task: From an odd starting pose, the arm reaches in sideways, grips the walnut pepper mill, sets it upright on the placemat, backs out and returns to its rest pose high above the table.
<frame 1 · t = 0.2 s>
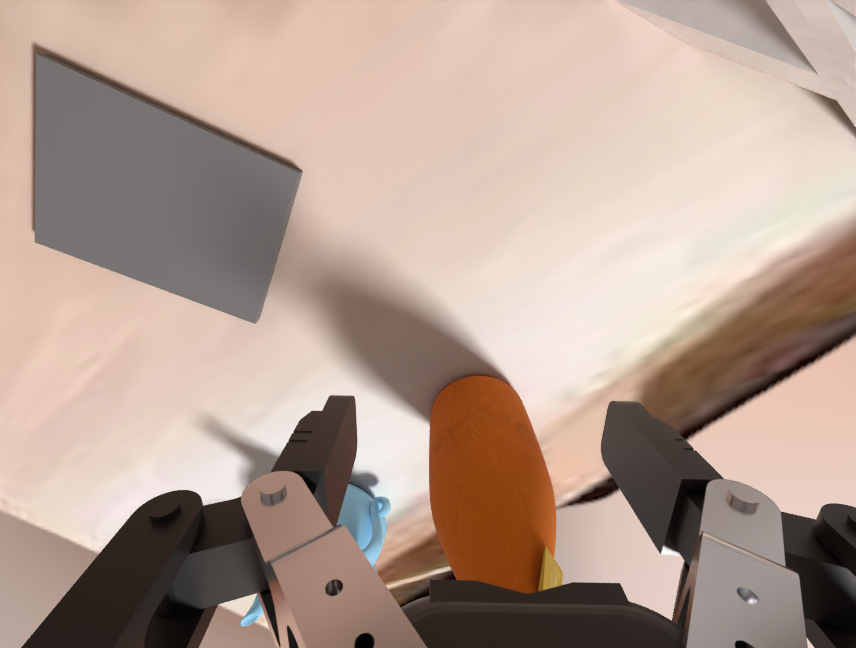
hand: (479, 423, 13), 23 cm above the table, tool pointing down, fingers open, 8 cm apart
teapot: (328, 511, 49), on the table
wine bottle: (475, 407, 42), on the table
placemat: (169, 206, 32), on the table
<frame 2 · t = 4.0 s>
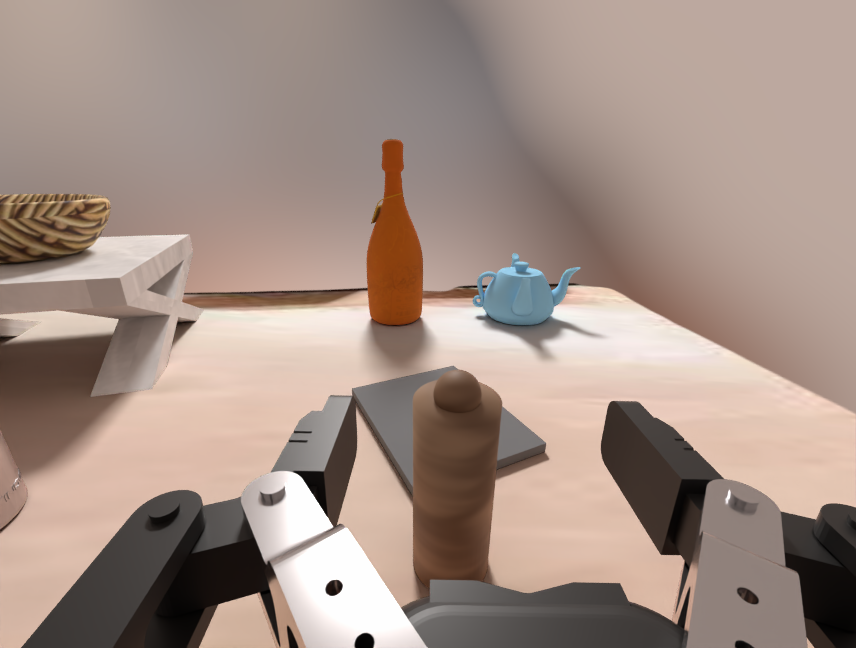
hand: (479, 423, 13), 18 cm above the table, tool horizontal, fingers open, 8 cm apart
pepper mill: (450, 559, 28), on the table
teapot: (521, 317, 75), on the table
wine bottle: (395, 318, 74), on the table
white x-leg bench: (61, 354, 59), on the table
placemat: (438, 420, 43), on the table
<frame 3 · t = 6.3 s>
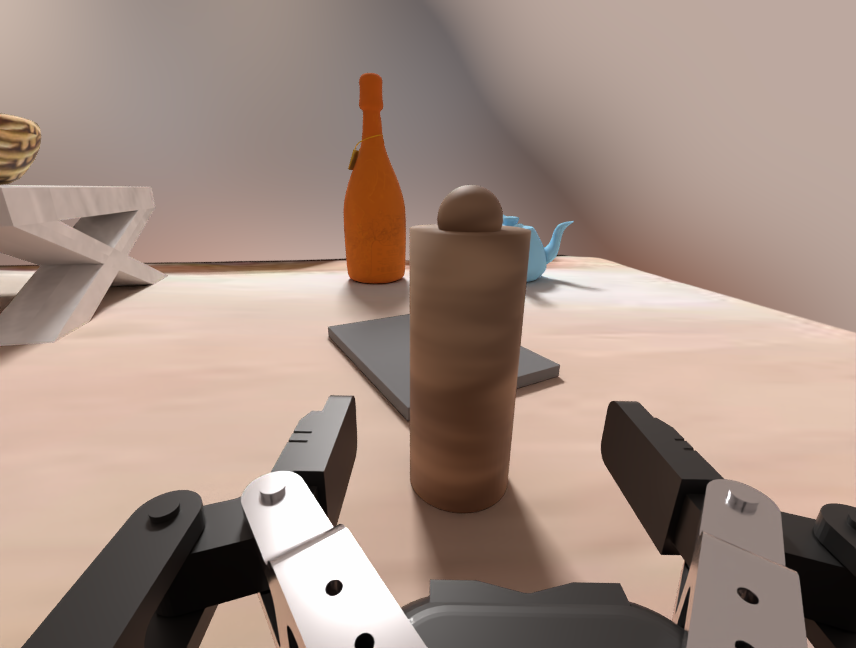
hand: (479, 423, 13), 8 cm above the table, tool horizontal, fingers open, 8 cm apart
pepper mill: (458, 475, 21), on the table
teapot: (512, 277, 70), on the table
wine bottle: (376, 279, 67), on the table
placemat: (430, 353, 37), on the table
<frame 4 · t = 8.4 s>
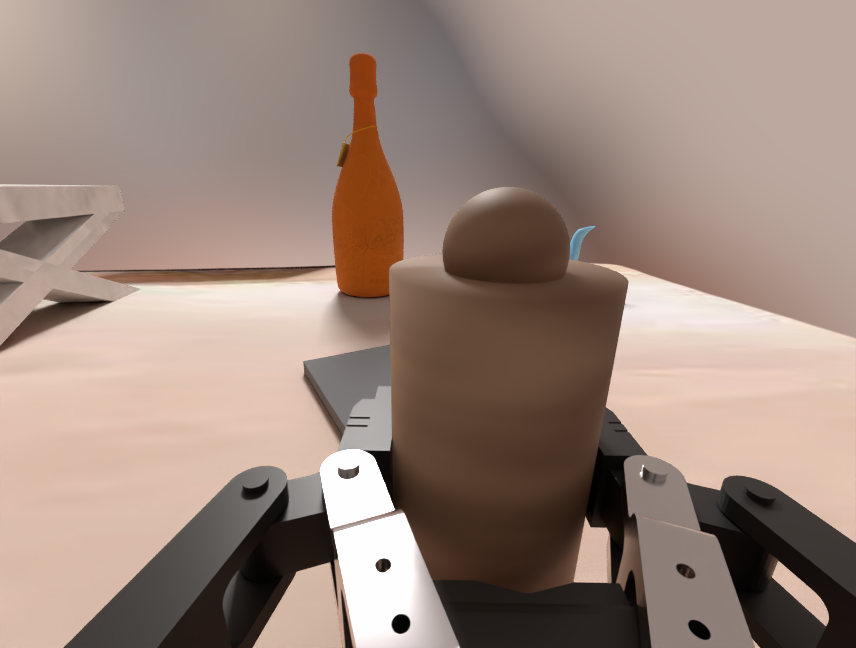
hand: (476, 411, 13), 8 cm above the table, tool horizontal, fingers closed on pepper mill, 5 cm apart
teapot: (524, 289, 62), on the table
wine bottle: (370, 292, 59), on the table
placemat: (431, 401, 29), on the table
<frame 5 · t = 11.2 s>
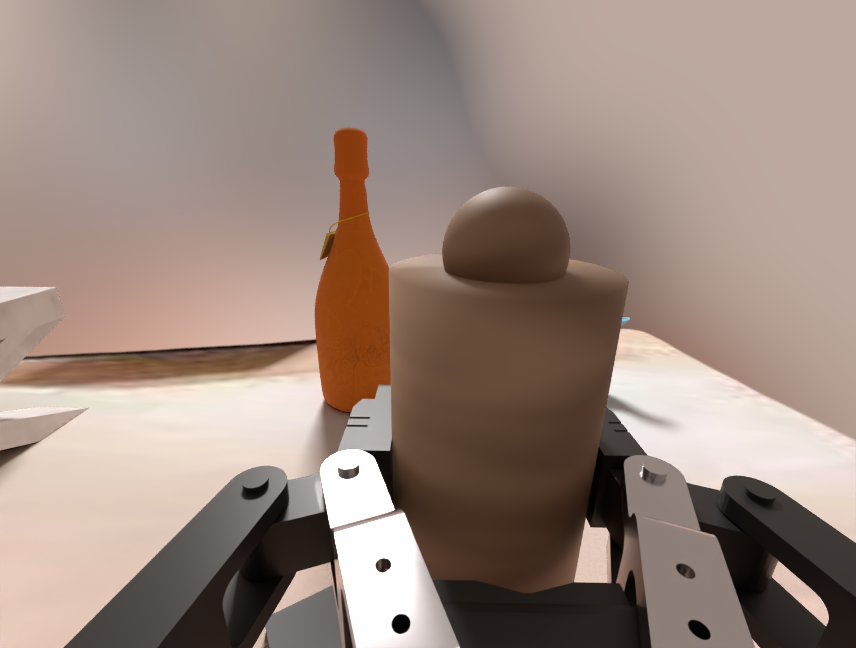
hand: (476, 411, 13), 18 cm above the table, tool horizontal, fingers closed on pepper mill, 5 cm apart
wine bottle: (362, 397, 49), on the table
when the fingers open (10 cm above the table, at t = 13.8 s): pepper mill drops 1 cm, resting on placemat.
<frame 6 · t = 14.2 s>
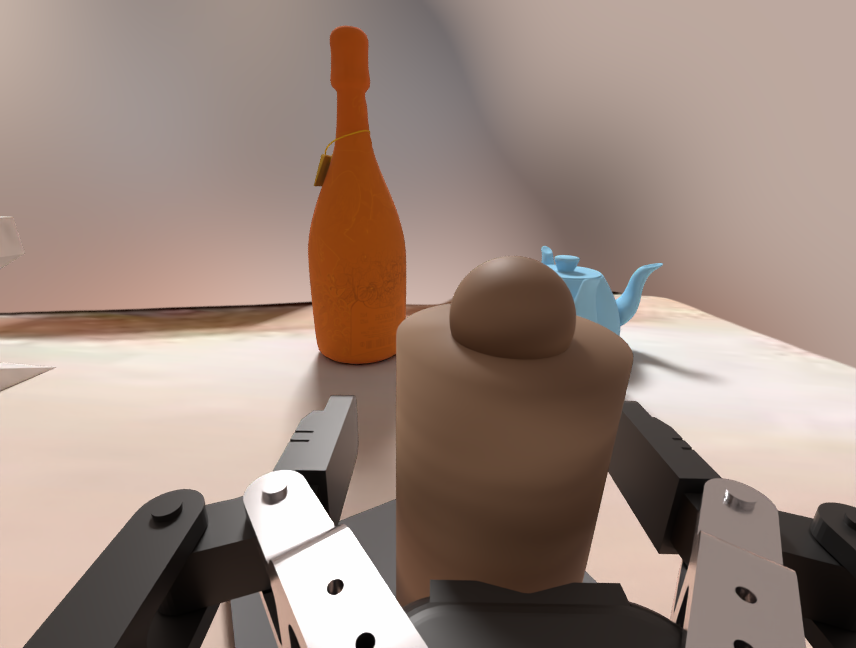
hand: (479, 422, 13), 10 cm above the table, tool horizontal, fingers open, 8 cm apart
teapot: (565, 344, 47), on the table
wine bottle: (362, 351, 44), on the table
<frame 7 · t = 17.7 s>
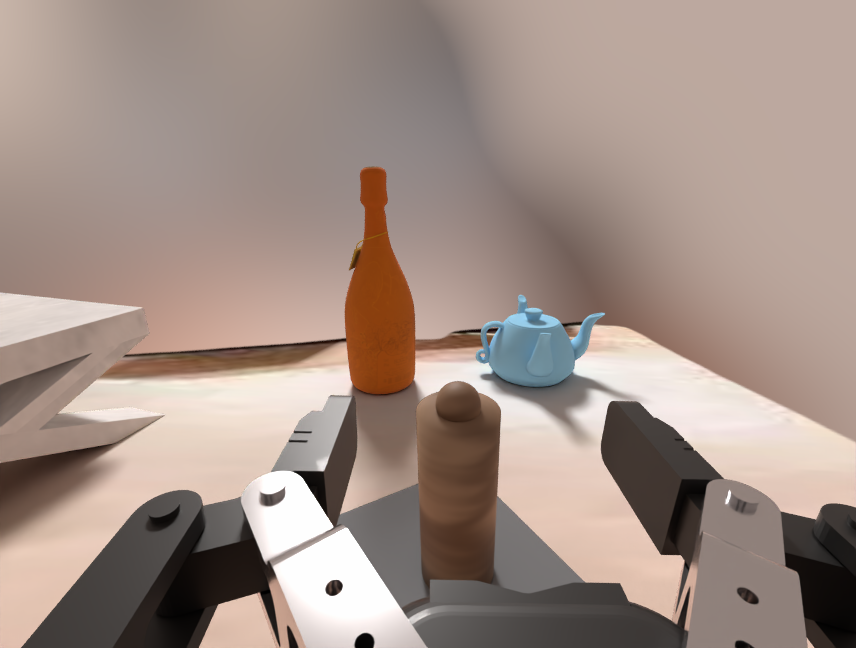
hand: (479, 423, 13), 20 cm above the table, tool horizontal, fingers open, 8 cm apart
pepper mill: (457, 566, 29), point 1 cm above the table, touching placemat
teapot: (535, 373, 62), on the table
wine bottle: (383, 383, 60), on the table
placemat: (456, 576, 29), on the table
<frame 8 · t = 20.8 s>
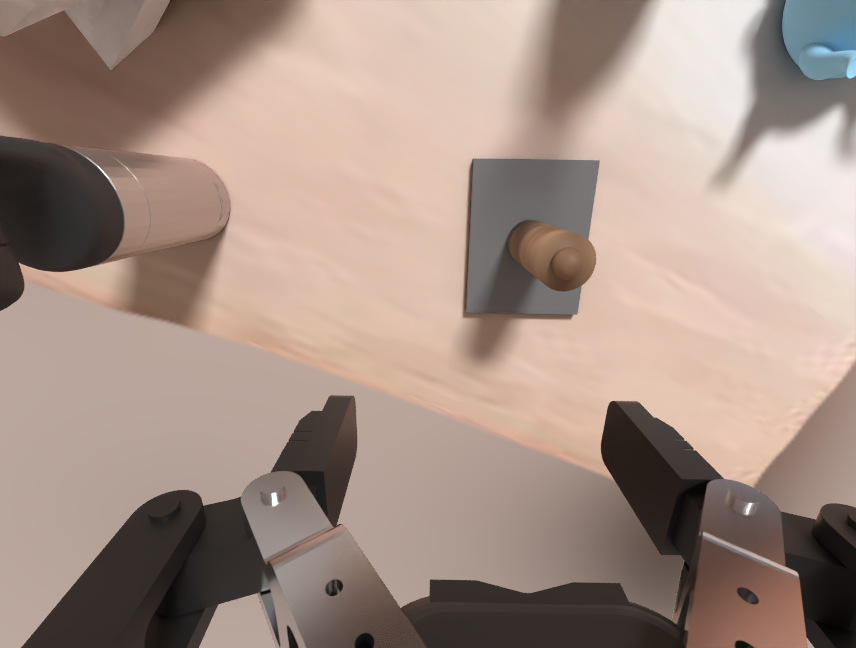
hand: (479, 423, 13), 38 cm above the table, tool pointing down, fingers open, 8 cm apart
pepper mill: (528, 242, 47), point 1 cm above the table, touching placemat
teapot: (840, 17, 41), on the table
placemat: (526, 240, 48), on the table
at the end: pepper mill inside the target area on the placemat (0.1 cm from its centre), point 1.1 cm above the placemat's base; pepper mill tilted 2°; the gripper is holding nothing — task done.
